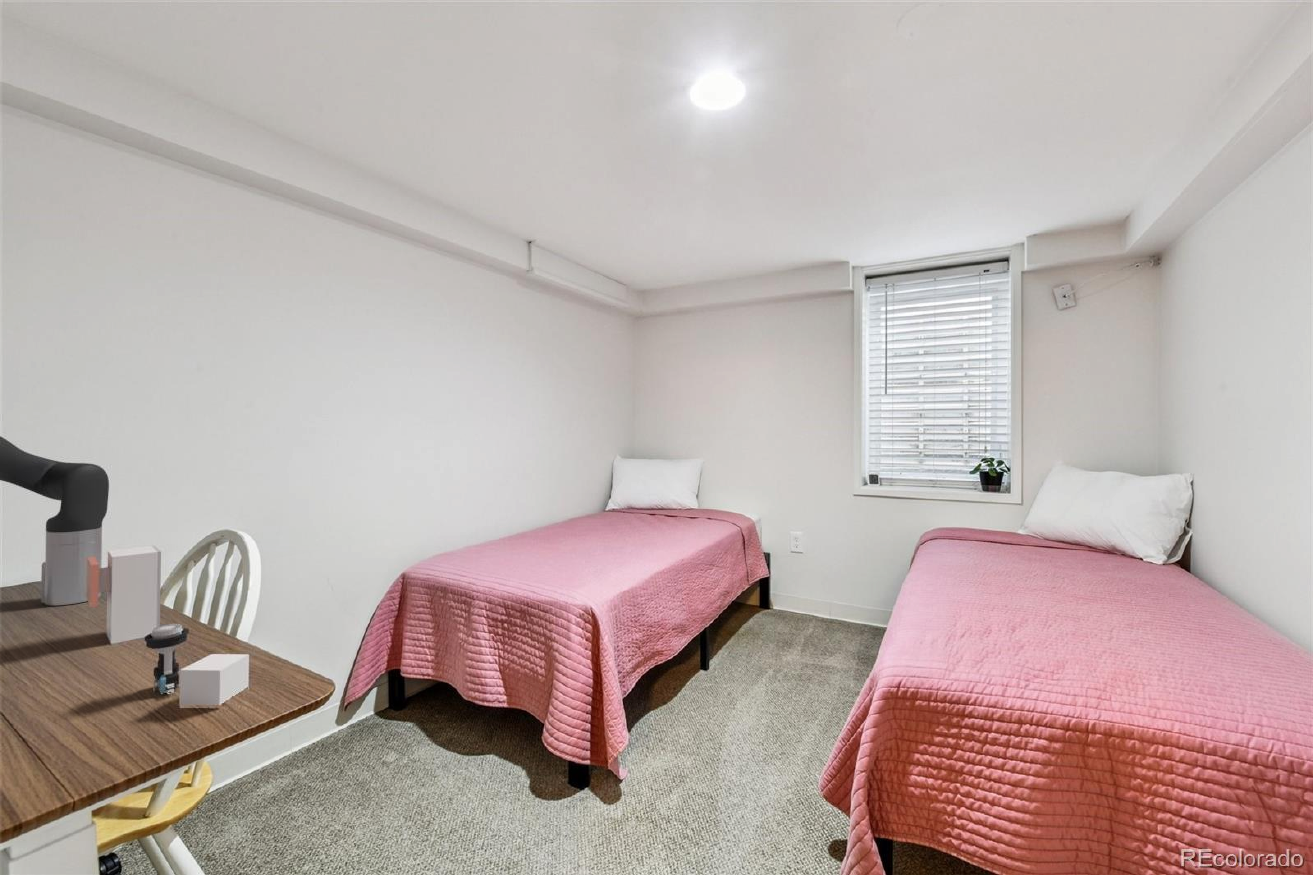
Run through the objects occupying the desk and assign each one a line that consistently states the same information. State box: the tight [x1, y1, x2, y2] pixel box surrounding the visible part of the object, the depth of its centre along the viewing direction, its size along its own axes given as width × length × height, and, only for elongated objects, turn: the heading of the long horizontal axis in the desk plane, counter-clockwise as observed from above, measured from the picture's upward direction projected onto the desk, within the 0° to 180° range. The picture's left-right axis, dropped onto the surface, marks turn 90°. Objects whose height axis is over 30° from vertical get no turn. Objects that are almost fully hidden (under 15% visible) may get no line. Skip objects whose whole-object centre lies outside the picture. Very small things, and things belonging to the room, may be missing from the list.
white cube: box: [178, 653, 250, 706], centre depth 84 cm, size 6×6×6 cm
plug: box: [86, 557, 111, 608], centre depth 107 cm, size 8×9×8 cm
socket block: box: [106, 545, 162, 645], centre depth 109 cm, size 7×8×17 cm
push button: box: [144, 623, 190, 695], centre depth 87 cm, size 7×5×10 cm
